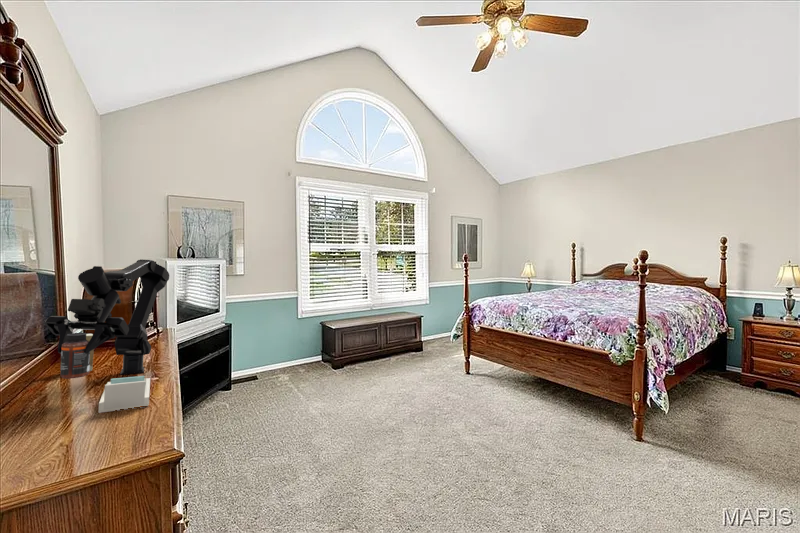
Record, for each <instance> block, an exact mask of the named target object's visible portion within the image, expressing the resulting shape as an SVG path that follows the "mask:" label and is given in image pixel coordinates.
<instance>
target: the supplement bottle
mask: <svg viewBox="0 0 800 533" xmlns="http://www.w3.org/2000/svg"><path fill="white" fill-rule="evenodd" d="M86 334H87V333H86V332H73V333H71V334H67V341H66V342H65V343H63V344H62V348H61V353H60V372H59V373H60V378H62V379H69V380H70V379H78V378H82V377H86V376H88V375H89V374H90V371H89V370H90V352H89V353H85V352H84V350H85V348H86V346H87V344H88V342H89V341H87V340H86Z"/></svg>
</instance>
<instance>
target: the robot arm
mask: <svg viewBox="0 0 800 533" xmlns="http://www.w3.org/2000/svg"><path fill="white" fill-rule="evenodd" d="M139 278H140V283H141V286H142V289H141V292H140V295H139V297H138V299H137V303H136V304H135V308H134V310H133V313H132V315H131V316H130V317H131V318H130V320H129V323H128V324H127V322H126V320H125V319H124V317H119V316H118V317H115V316H114V317H112V313H111V312H112V311H113V308H114V307H115V305H117V304H118V305H119V304H122V300H121V298H120V295H119V292H127V291H128V290H130V288H132V286H134V281H136V280H137V279H139ZM77 279H78V281H79V283H80V284H81V286H82V287H83V288H84V290H85V292H86V293H87V294H88V295H89V296H92V298H91V299H87V298H71V299H70V302H69V305H68V308H67V311H68V312H71V313H73V314H74V315H73V317H74V318H75V319H76V320H77V321H76V320H74V321H73V320H69V317H67V316H65V315H64V316H63V315H51V316H48V317H47V318H46V320H45V321H44V323H43V324H44V326H46V327H47V329H48V330H49V331H50V332H51V333H52V334H53V335H55V336H58V337H59V338H58V346H57V352H58V354H61V348H62V344H63V343H65V342H66V341H67V334H71V333H74V330H84V331H85V330H86V331H87V330H89V331H91V330H92V331H93V330H94V332H93V333H92V334H93V336H92V337H91V339H90V341H89V342H88V344H87V346H86V348H85V350H84V352H85V353H89V352H90V351H92V350H93V349H94V350H95V349H96V348H97V347H99V346H100V345H103V344H104V343H106V342H108V341H110V340H111V339H115V340H114V348H115V354H116V356H122V369H121V370H120V373H119V375H121V376H122V375H134V374H135V375H136V374H144V373H145V366H144V356H145V355H149V354H150V353H151V351H152V345H151V343H150V342H149V340H148V333H147V330H146V326H147V323H148V320H149V318H150V314H151V312H152V309H153V306H154V304H155V300H156V299H157V295H158V293H159V292H160V291H161V290H163V289H164V288H165V287H166V285H167V283H168V281H169V280H170V273H169V271H168V270H167V268H165V267H164V266H162V265H160V264H158V263H157V262H156V261H155V260H153V259H138V260H137V261H136V262H134V263H132V264H130V265H128V266H126V267H124V268H122V269H121V270H120V269H119V270H111V271H106V272H105V271H104V268H103V266H101V265H100V266H99V265H94V266H93V267H92V268H89V269H88V268H87V269H86V270H84V271H82V272H81V273H79V275H78V276H77Z"/></svg>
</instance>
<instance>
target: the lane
mask: <svg viewBox="0 0 800 533" xmlns="http://www.w3.org/2000/svg"><path fill="white" fill-rule="evenodd" d="M150 388H151V377H146V378H145V377H144V381H136V382H126V383H116V384H111V381H107V383H106V384H104V390H103V393H102V394H101V397H100V400H99V402H98V413H100V414H101V413H107V412H114V411H115V410H117V411H121V410H120V409H124V410H129V409H128V408H132V409H135V408H134V407H140V406H148V405H150V390H151V389H150ZM148 407H149V406H148ZM140 408H141V407H140Z"/></svg>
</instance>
